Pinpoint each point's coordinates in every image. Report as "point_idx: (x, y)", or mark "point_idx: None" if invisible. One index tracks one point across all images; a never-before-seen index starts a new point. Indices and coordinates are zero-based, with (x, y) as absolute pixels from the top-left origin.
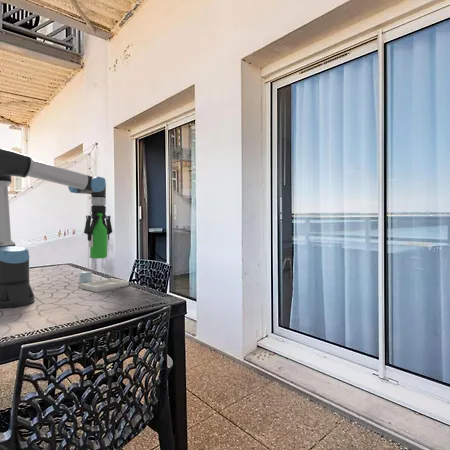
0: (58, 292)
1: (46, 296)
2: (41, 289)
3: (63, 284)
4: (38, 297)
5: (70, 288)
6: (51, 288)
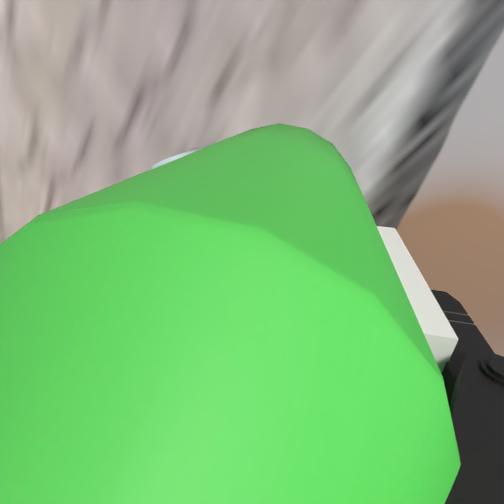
0: (72, 194)
1: (26, 213)
2: (36, 60)
3: (151, 31)
4: (4, 202)
5: (131, 169)
6: (75, 83)
